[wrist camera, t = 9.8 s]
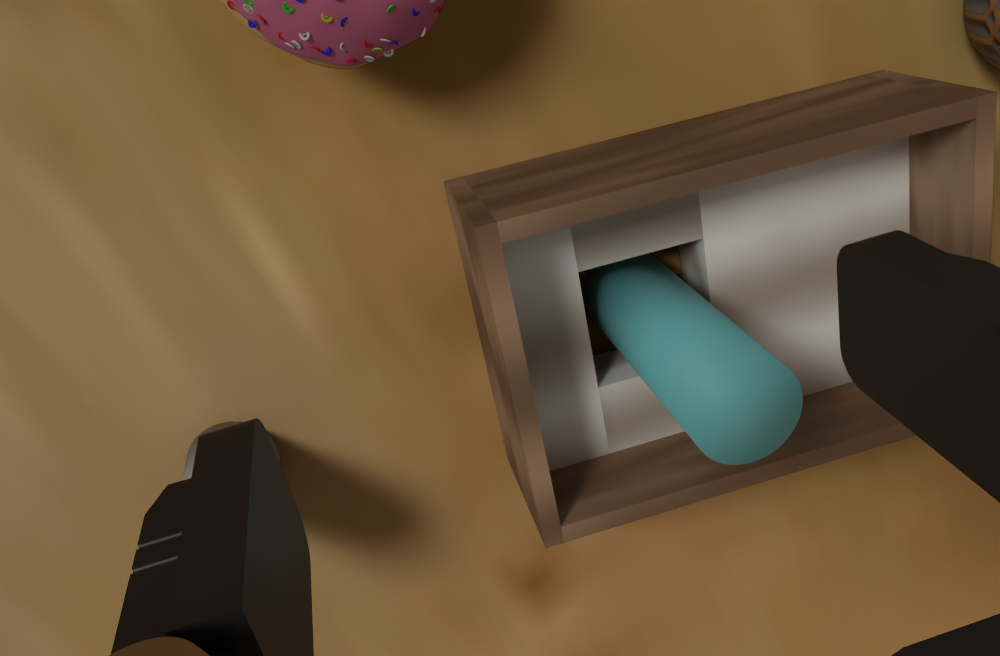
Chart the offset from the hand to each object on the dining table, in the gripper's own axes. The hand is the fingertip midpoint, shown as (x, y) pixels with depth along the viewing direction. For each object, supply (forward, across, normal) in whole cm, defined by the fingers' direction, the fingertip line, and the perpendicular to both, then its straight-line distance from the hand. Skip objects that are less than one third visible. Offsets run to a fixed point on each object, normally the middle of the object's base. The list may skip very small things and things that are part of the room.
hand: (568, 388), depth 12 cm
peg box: (+25, -11, +12) cm, 30 cm away
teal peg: (+25, -8, +12) cm, 29 cm away
